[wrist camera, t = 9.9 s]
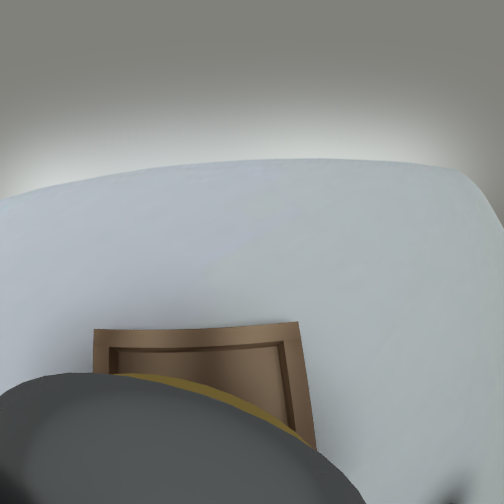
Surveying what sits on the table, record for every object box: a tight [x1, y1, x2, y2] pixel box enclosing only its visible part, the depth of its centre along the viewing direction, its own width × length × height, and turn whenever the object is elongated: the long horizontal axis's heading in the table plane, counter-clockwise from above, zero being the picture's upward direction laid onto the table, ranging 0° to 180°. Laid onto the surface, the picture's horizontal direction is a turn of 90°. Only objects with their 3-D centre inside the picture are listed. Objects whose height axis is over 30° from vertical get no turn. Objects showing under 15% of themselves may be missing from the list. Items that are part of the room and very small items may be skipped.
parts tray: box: [93, 322, 317, 451], centre depth 15 cm, size 14×14×3 cm
